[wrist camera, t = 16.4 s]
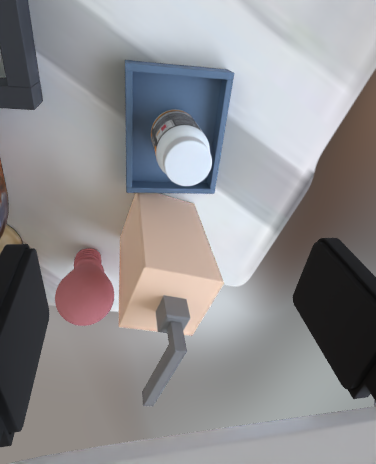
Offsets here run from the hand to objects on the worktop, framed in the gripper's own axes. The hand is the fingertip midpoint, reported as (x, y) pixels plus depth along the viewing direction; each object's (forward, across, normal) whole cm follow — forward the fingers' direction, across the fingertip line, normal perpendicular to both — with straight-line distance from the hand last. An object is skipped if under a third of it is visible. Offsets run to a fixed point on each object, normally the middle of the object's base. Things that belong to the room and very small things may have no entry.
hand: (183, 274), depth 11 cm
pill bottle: (+30, -4, +4) cm, 30 cm away
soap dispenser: (+30, -2, +19) cm, 36 cm away
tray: (+30, -4, +4) cm, 31 cm away
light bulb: (+30, +7, +23) cm, 39 cm away
